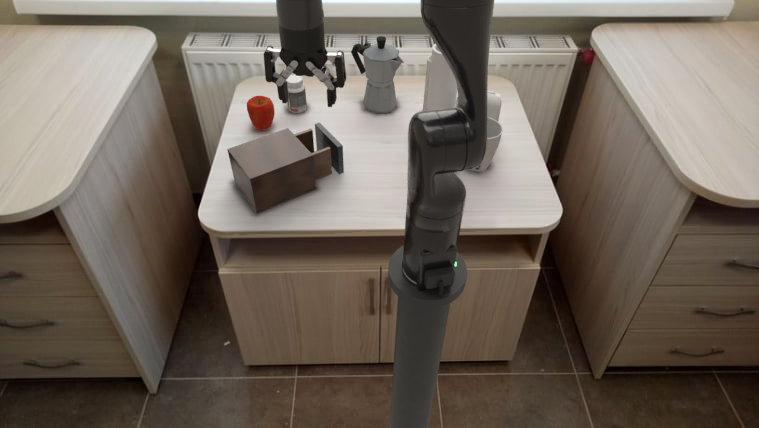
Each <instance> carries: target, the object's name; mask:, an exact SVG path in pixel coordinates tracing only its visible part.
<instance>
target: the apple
mask: <svg viewBox="0 0 759 428" xmlns="http://www.w3.org/2000/svg"><path fill="white" fill-rule="evenodd" d="M246 111H247V114H248V118H249V119H250V122H251V124H252V125H253V127H254V128H255V129H257V130H258V131H266V130H268V129H270V128H271V127H272V124H273V121H274V118H275V113H276V111H275V105H274V102H273V100H272V99H271V98H270V97H268V96H264V95H255V96H252V97H250V98H249V99H248V100H247V102H246Z"/></svg>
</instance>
